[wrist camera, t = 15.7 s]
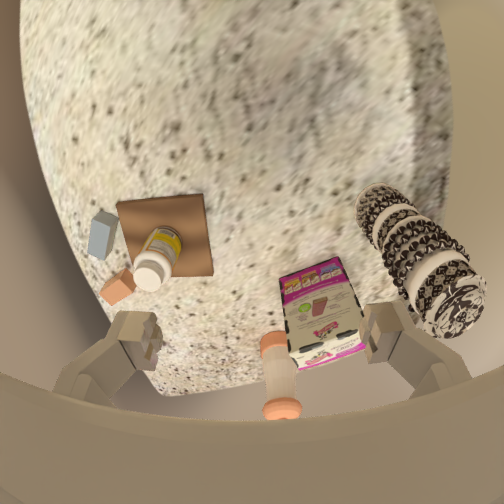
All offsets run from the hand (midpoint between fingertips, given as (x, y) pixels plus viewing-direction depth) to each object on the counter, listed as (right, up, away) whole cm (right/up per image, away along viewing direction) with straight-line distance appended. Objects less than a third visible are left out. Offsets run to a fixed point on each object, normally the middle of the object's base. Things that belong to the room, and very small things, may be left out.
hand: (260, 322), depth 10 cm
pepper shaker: (+5, -16, +47) cm, 50 cm away
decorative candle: (+20, +10, +31) cm, 38 cm away
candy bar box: (+10, -2, +38) cm, 39 cm away
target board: (-14, +5, +34) cm, 37 cm away
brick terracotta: (-25, -3, +39) cm, 47 cm away
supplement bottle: (-14, +5, +33) cm, 36 cm away
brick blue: (-25, +6, +33) cm, 42 cm away
